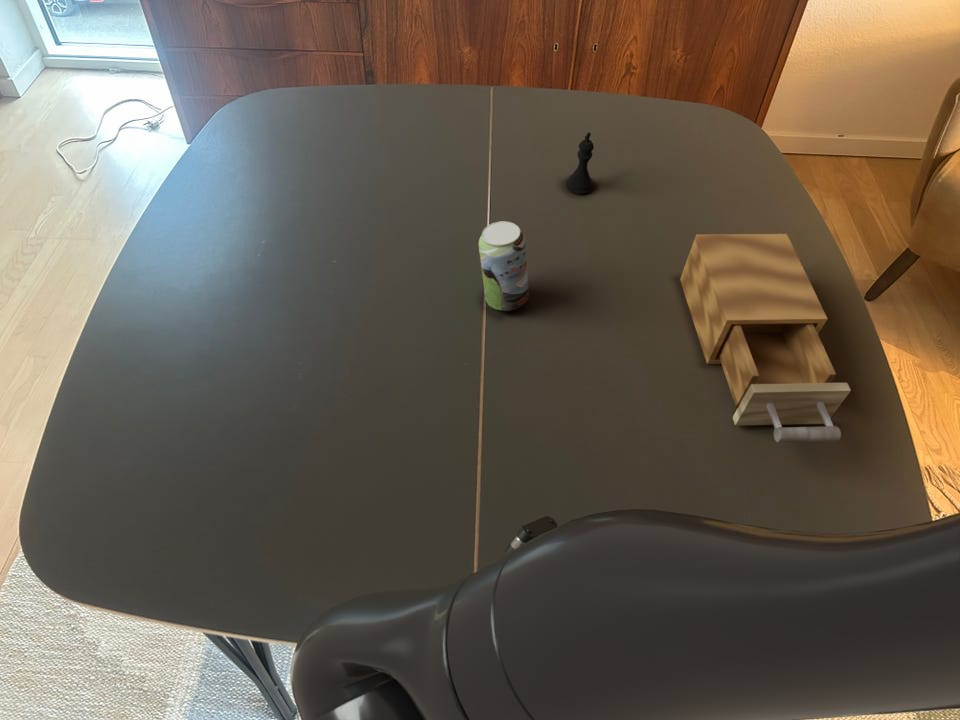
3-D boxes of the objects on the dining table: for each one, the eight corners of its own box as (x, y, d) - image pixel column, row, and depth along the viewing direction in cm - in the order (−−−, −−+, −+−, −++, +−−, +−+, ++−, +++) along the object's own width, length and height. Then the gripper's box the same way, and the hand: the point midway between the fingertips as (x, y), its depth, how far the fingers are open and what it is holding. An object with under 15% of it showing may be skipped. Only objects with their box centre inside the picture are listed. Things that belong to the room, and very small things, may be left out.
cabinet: (800, 362, 93) (827, 318, 87) (706, 364, 93) (727, 320, 86) (764, 278, 103) (787, 233, 96) (679, 279, 102) (696, 234, 96)
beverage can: (520, 322, 96) (528, 256, 87) (469, 308, 97) (471, 241, 88) (533, 290, 100) (542, 224, 90) (484, 277, 101) (487, 211, 92)
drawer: (841, 459, 83) (868, 427, 78) (746, 461, 82) (767, 429, 77) (788, 333, 95) (808, 298, 90) (705, 334, 95) (720, 299, 89)
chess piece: (560, 188, 115) (569, 134, 107) (573, 175, 117) (582, 120, 109) (585, 198, 113) (595, 144, 105) (597, 184, 116) (608, 130, 108)
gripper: (668, 670, 41) (722, 608, 56) (499, 505, 48) (586, 487, 62) (593, 757, 43) (664, 675, 57) (440, 587, 49) (538, 551, 64)
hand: (623, 578), depth 60 cm, fingers open, 8 cm apart
